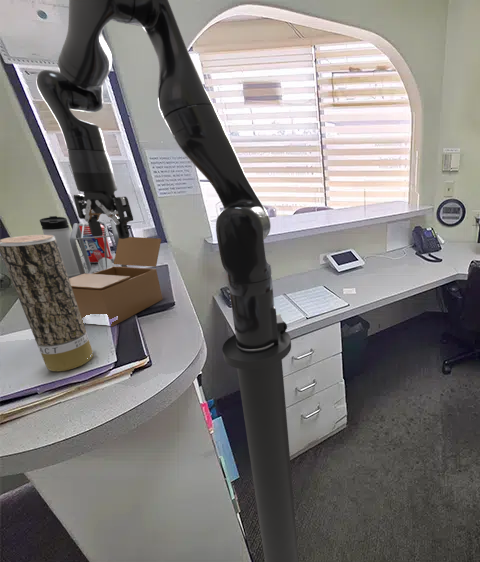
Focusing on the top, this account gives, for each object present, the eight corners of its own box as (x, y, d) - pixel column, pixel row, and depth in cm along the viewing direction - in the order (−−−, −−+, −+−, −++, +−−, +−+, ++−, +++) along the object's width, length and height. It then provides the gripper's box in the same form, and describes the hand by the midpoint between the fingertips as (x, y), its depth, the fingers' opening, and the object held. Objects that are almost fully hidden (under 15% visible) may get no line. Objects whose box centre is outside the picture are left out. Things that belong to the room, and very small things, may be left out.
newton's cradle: (88, 272, 110) (73, 222, 103) (125, 267, 116) (113, 219, 110) (88, 300, 88) (68, 238, 82) (133, 291, 95) (118, 234, 89)
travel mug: (83, 272, 109) (66, 215, 102) (84, 277, 105) (66, 218, 98) (59, 275, 105) (39, 216, 98) (58, 281, 101) (37, 219, 94)
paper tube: (84, 349, 65) (44, 233, 57) (101, 358, 63) (62, 237, 54) (40, 366, 60) (-11, 239, 51) (57, 377, 57) (6, 245, 48)
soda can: (118, 259, 124) (108, 222, 119) (98, 265, 117) (86, 225, 112) (103, 257, 126) (92, 221, 121) (81, 263, 119) (69, 224, 114)
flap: (113, 264, 88) (114, 264, 88) (155, 266, 87) (156, 266, 87) (119, 236, 89) (120, 236, 89) (160, 238, 88) (161, 238, 88)
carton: (122, 296, 91) (113, 263, 88) (163, 299, 90) (155, 266, 87) (63, 322, 76) (50, 284, 72) (112, 326, 75) (100, 288, 71)
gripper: (132, 171, 76) (146, 236, 82) (86, 169, 79) (103, 232, 85) (100, 171, 70) (119, 242, 75) (52, 169, 72) (73, 238, 78)
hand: (111, 237), depth 80 cm, fingers open, 8 cm apart
